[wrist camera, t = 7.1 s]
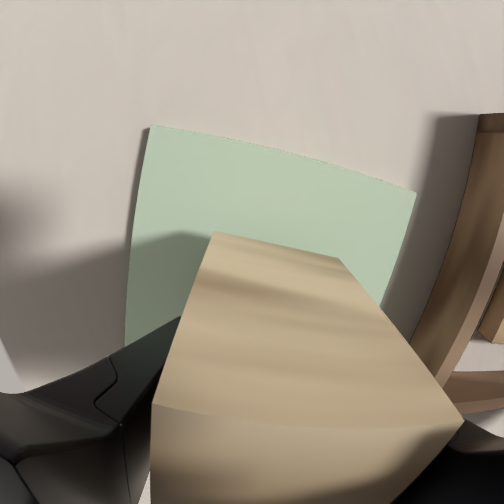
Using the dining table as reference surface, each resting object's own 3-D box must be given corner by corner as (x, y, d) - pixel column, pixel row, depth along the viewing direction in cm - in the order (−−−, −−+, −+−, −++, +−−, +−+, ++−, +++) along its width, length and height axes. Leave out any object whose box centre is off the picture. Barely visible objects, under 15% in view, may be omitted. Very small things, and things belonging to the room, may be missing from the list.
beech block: (302, 359, 12) (347, 537, 5) (193, 340, 12) (151, 529, 4) (338, 258, 11) (464, 420, 3) (214, 230, 11) (152, 403, 3)
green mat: (334, 394, 15) (336, 399, 15) (126, 358, 14) (124, 363, 14) (412, 191, 12) (417, 192, 12) (153, 125, 11) (150, 125, 11)
